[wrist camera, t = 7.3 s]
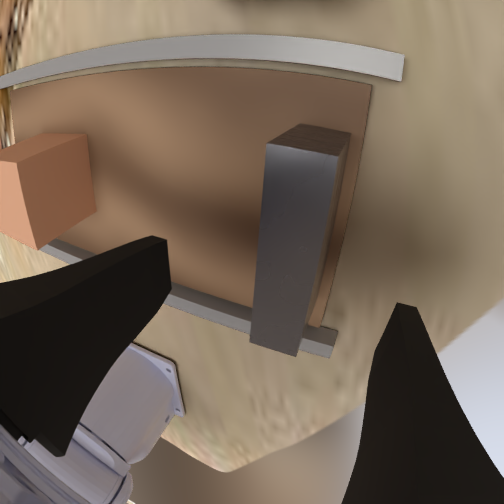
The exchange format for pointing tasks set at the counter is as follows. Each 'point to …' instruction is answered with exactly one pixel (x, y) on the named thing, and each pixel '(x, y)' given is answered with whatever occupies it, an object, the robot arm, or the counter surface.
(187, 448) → the counter surface
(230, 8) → the counter surface
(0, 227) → the cube
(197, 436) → the counter surface
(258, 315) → the large flat tan board
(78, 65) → the lane rails
